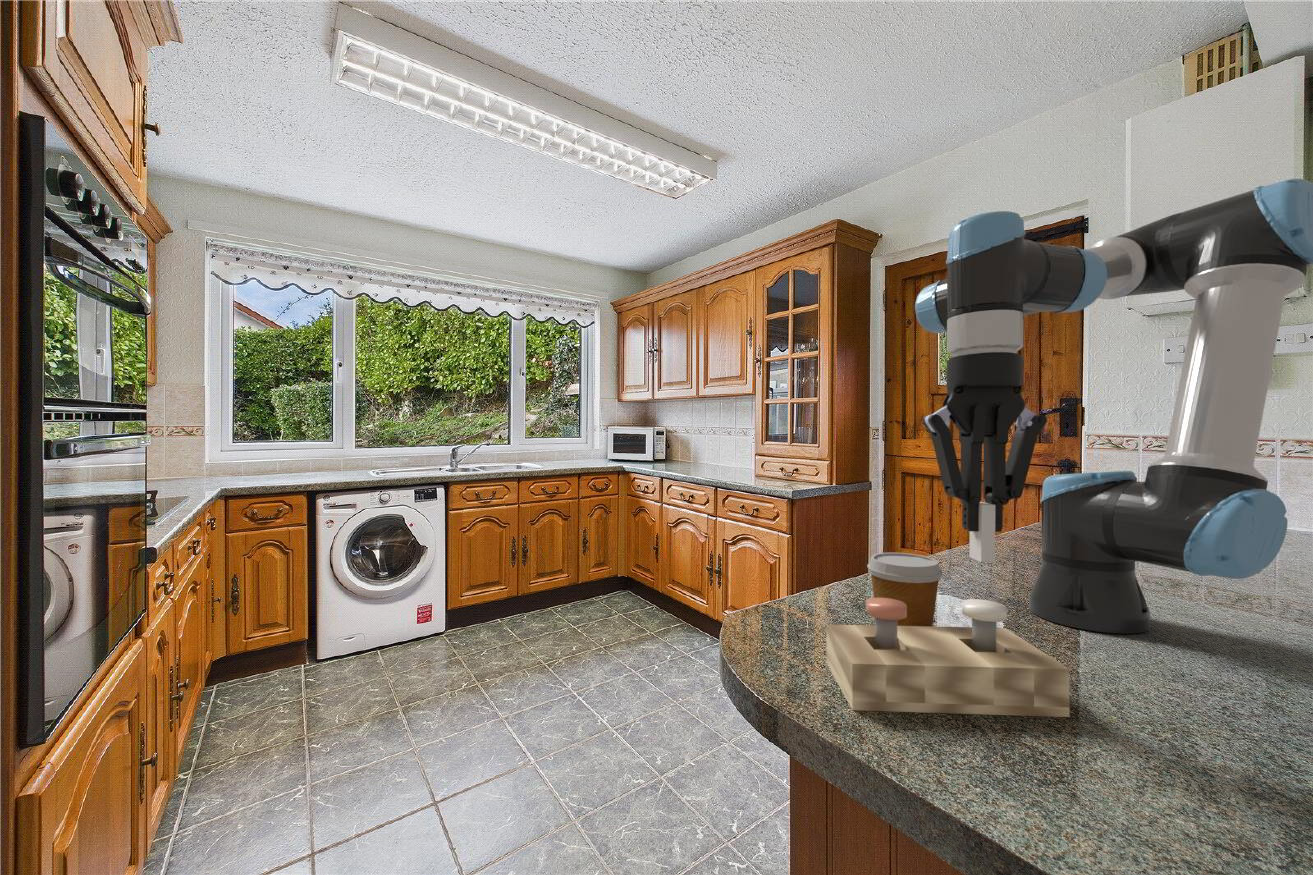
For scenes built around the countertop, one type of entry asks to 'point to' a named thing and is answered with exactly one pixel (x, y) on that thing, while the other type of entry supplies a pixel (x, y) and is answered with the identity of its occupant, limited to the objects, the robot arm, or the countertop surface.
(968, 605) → the white mushroom knob
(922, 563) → the disposable coffee cup
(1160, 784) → the countertop surface
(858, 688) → the block
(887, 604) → the pink round-capped knob part
